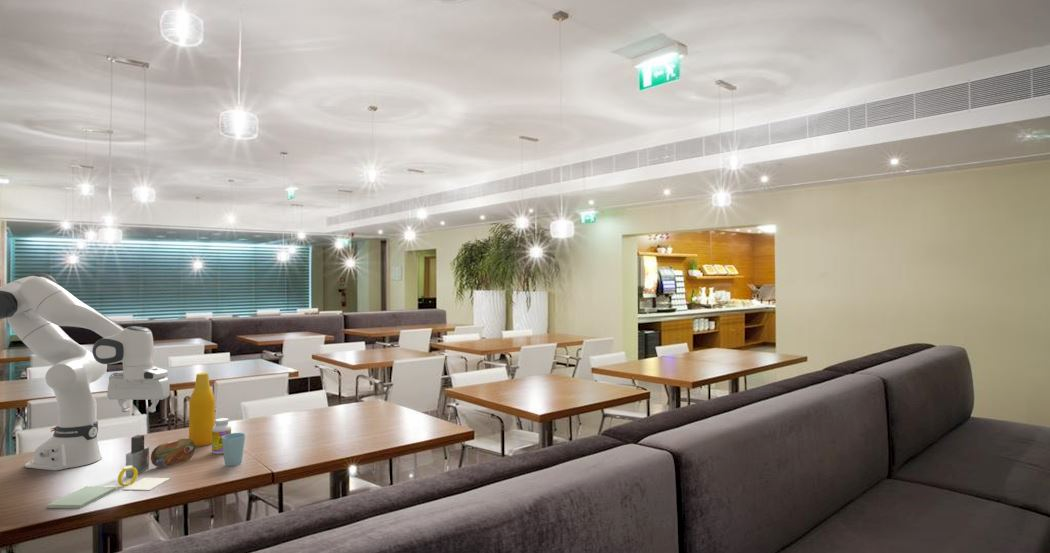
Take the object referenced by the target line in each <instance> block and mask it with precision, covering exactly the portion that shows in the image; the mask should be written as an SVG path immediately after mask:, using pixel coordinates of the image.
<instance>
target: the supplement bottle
mask: <svg viewBox="0 0 1050 553" xmlns="http://www.w3.org/2000/svg"><path fill="white" fill-rule="evenodd" d="M229 421H230V420H229V418H228V417H220V418H217V419H215V426H214V427H213V428H212V444H211V453H212V454H215V455H221V454H223V455H224V451H223V443H222V436H224V435H227V434H231V433H232V426H231V424H229Z"/></svg>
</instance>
